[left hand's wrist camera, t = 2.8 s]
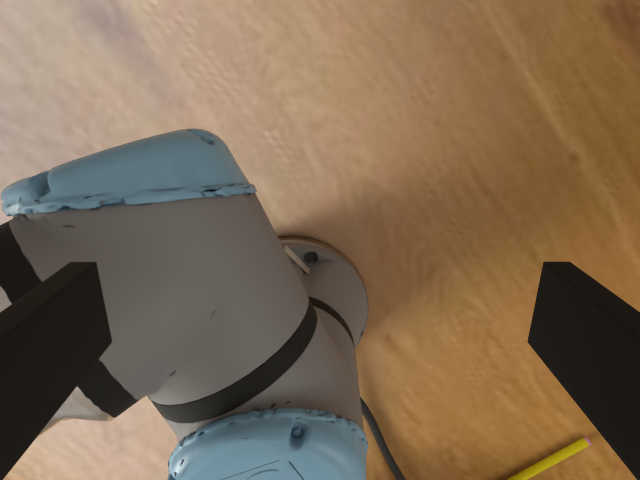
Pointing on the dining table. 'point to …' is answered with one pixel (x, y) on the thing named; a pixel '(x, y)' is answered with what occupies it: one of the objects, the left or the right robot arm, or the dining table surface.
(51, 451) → the dining table surface
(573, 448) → the pencil
